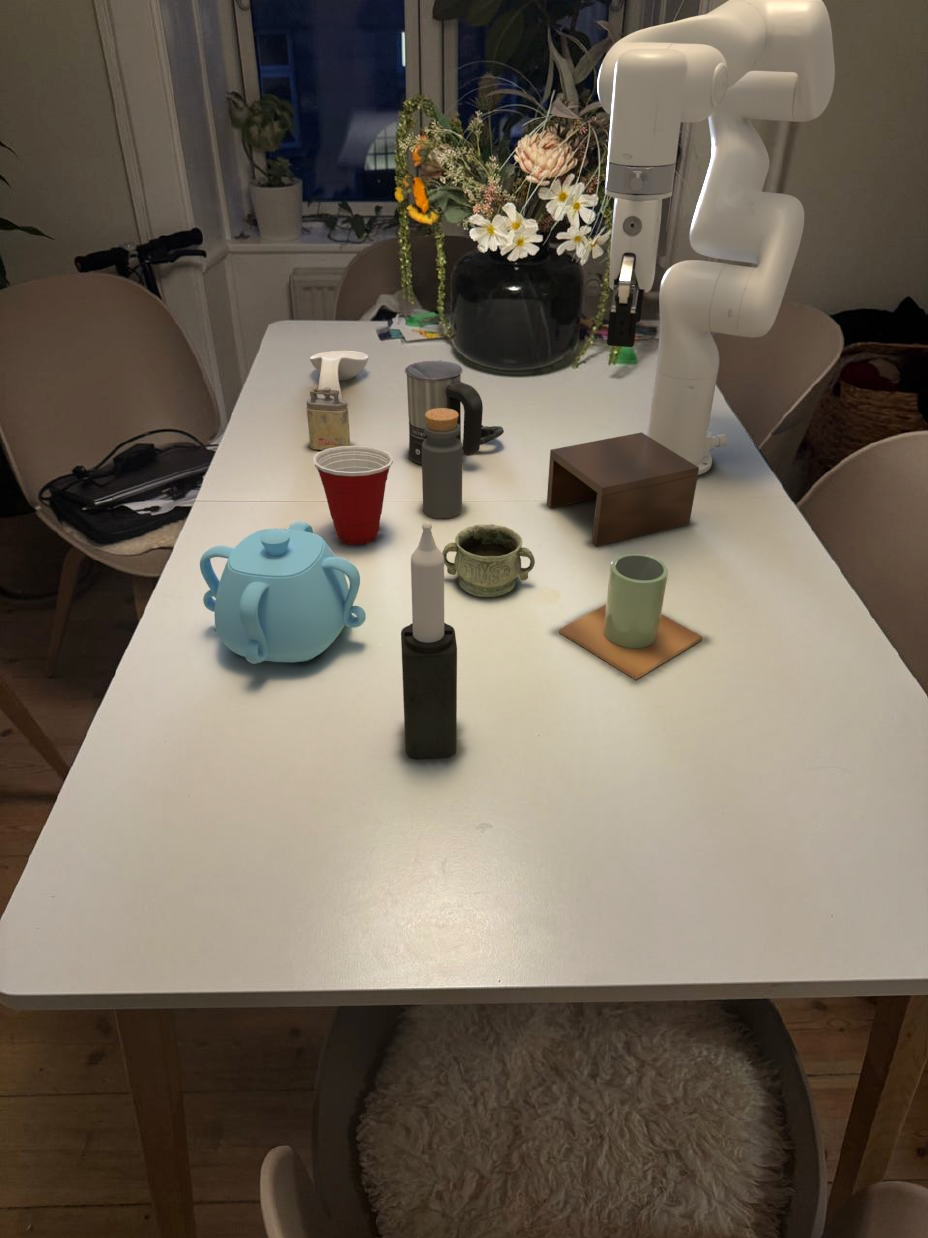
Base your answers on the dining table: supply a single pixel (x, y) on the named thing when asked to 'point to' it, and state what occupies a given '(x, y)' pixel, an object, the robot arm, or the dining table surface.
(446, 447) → the bottle
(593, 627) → the coaster
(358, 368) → the spoon rest
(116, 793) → the dining table surface
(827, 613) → the dining table surface
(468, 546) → the vessel
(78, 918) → the dining table surface
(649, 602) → the tumbler
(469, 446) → the milk frother
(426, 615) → the candle
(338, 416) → the lighter
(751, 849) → the dining table surface
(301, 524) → the decorative pot
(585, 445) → the shelf
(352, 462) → the plastic cup
